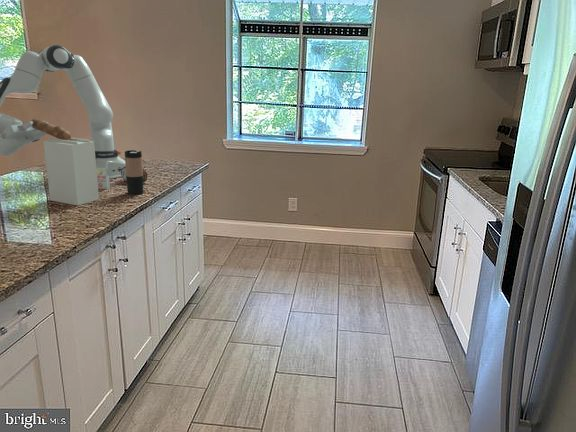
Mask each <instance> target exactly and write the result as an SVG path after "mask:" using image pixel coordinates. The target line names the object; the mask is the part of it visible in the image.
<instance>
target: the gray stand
mask: <svg viewBox="0 0 576 432" xmlns="http://www.w3.org/2000/svg"><path fill="white" fill-rule="evenodd" d="M42 143H43V150H44V151H43V152H44V160H45V167H46V176H47V183H48V184H47V185H48V191H49V192H48V193H49V201H52V202H58V203H63V204H69V205H72V206H81V205H84V204H87V203H91V202H93V201H97V200H99V199H100V195H99V189H98V181H97V170H96V158H95V147H94V142H93V141H92V140H91V139H87V138H77V137H71V138H70V140H61V139H58V138H50V137H48V138H47V140H43V141H42Z"/></svg>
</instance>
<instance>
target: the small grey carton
mask: <svg viewBox="0 0 576 432" xmlns="http://www.w3.org/2000/svg"><path fill="white" fill-rule="evenodd" d="M96 170H97V181H98V190H109V189H110V188H111V186H110V184H111V183H110V179H109V174H108V170H107V169H102V168H96Z"/></svg>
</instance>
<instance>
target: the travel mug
mask: <svg viewBox="0 0 576 432" xmlns="http://www.w3.org/2000/svg"><path fill="white" fill-rule="evenodd" d="M124 160H125V166H126V180H127V181H126V188H127V194H128V195H131V196H133V195H134V196H135V195H142V194H144V183H143V169H144V168H143V155H142V150H139V151H137V150H135V149H133V150H131V149H129V150H125V151H124Z"/></svg>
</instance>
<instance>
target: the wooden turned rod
mask: <svg viewBox="0 0 576 432" xmlns="http://www.w3.org/2000/svg"><path fill="white" fill-rule="evenodd" d="M30 121H33V123H34V125H33V126H32V128H35V129H37V130H40V131H42V132H44V133H47V134H48V135H49V136H51V137H54V138H55V139H61V140H70V138H72V134H71V133H70V132H69V131H68V130H66V129H65V128H64V127H63V126H61V125H54V124H51V123H49V122H48V123H46V122H47V121H45V120H44V121H45V122H44V121H43V120H42V119H39V118H36V117H35V118H32V119H31V120H30ZM47 134H46V135H47Z"/></svg>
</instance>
